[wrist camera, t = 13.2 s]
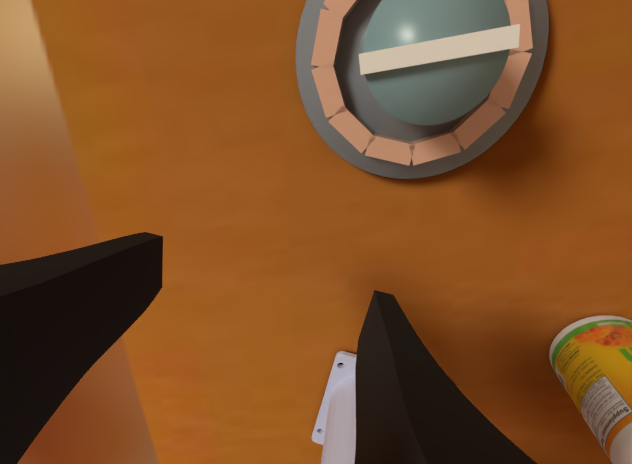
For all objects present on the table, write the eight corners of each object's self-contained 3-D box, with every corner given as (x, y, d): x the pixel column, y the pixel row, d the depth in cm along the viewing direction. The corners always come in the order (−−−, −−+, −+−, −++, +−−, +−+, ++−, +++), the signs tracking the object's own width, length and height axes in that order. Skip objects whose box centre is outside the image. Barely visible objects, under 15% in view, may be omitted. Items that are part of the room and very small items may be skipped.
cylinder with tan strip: (468, -8, 14) (524, -59, 9) (467, 104, 16) (514, 115, 11) (358, 15, 15) (351, -19, 10) (368, 118, 17) (366, 135, 12)
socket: (481, 196, 18) (490, 205, 17) (282, 149, 19) (275, 154, 18) (590, -60, 14) (616, -76, 12) (324, -112, 14) (318, -133, 13)
